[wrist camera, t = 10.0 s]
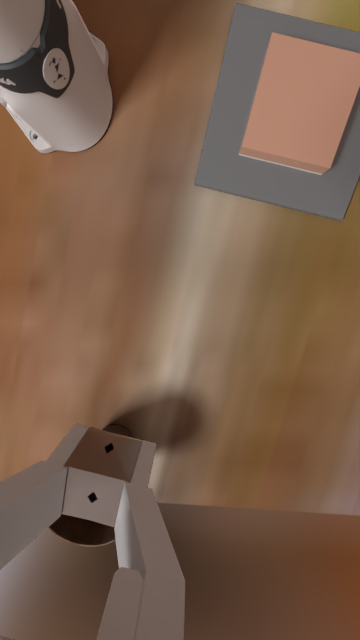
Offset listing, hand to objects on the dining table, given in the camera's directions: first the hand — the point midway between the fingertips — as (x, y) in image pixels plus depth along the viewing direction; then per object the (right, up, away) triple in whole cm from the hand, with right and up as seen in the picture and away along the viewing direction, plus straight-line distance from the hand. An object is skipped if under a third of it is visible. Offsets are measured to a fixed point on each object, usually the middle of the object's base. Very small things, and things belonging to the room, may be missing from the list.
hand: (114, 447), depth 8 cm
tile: (+19, +30, +26) cm, 44 cm away
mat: (+20, +36, +26) cm, 49 cm away
